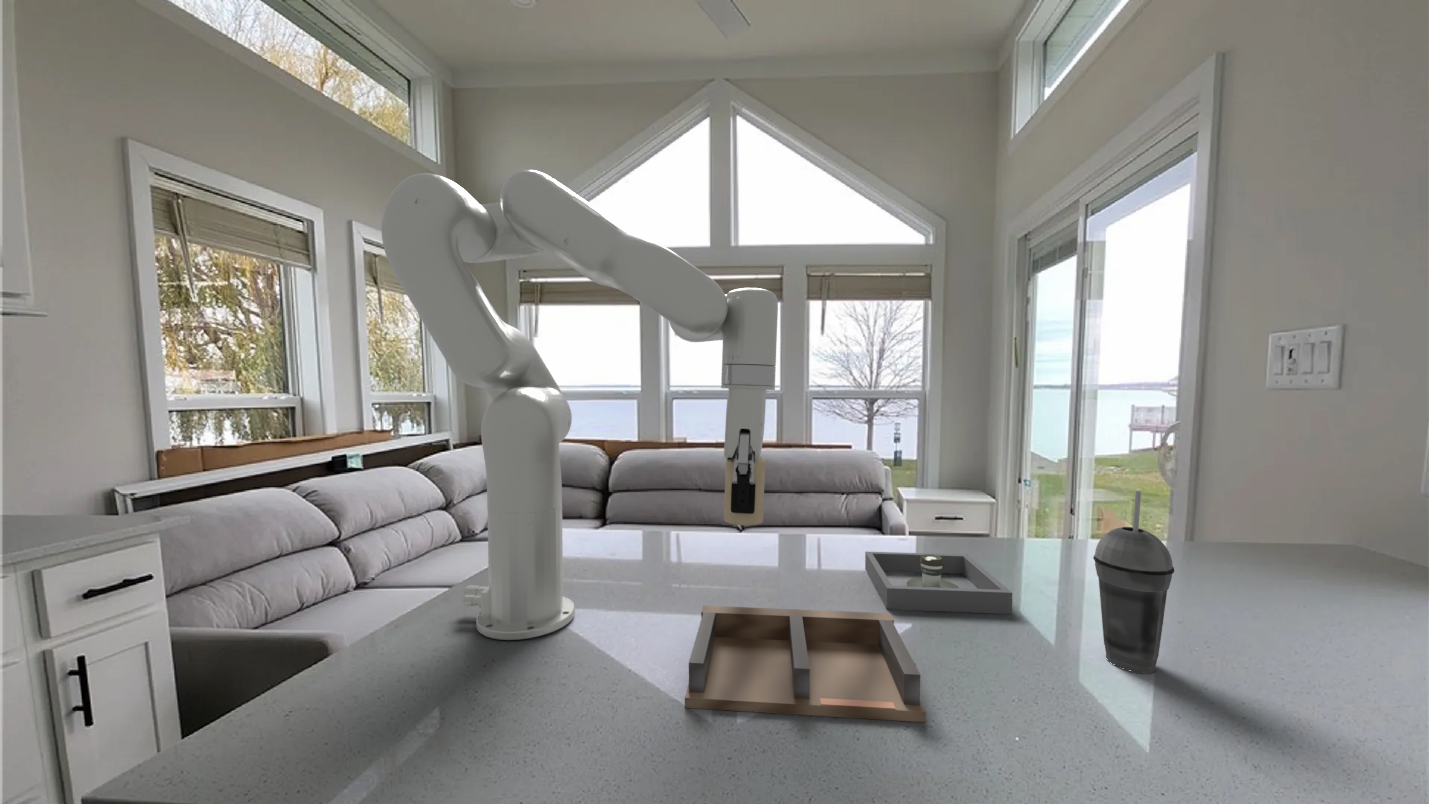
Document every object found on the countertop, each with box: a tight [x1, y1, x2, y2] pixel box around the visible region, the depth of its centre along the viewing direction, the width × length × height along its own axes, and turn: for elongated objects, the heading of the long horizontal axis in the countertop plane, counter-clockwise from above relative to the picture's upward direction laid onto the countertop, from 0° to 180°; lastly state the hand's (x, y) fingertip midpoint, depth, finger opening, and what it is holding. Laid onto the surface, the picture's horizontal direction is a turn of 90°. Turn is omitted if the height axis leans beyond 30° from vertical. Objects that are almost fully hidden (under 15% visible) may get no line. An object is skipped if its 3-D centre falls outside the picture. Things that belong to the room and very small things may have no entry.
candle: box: [723, 452, 766, 526], centre depth 75 cm, size 6×6×10 cm
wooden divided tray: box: [684, 605, 927, 723], centre depth 59 cm, size 23×15×4 cm, turn 84°
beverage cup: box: [1093, 490, 1175, 674], centre depth 61 cm, size 7×7×20 cm
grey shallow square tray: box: [864, 551, 1013, 615], centre depth 84 cm, size 17×17×3 cm
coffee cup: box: [906, 553, 960, 588], centre depth 83 cm, size 12×12×5 cm
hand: (743, 506), depth 75 cm, fingers closed on candle, 5 cm apart
